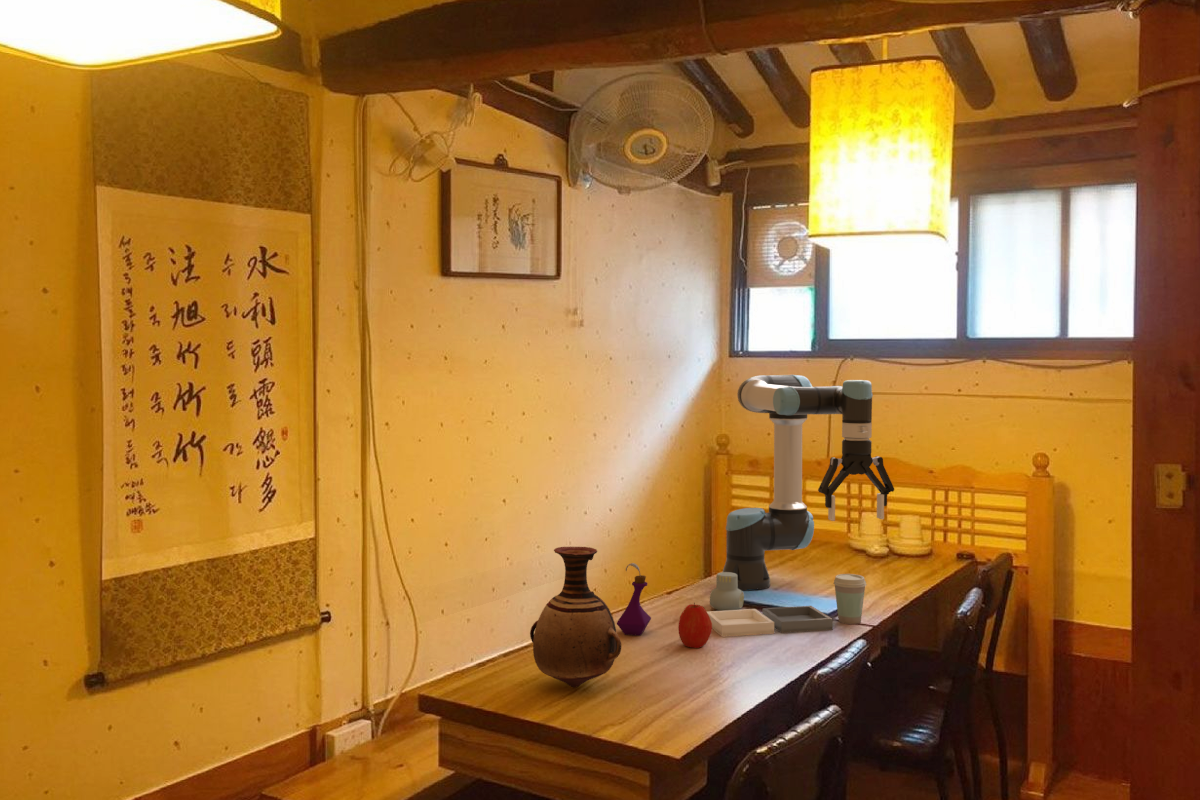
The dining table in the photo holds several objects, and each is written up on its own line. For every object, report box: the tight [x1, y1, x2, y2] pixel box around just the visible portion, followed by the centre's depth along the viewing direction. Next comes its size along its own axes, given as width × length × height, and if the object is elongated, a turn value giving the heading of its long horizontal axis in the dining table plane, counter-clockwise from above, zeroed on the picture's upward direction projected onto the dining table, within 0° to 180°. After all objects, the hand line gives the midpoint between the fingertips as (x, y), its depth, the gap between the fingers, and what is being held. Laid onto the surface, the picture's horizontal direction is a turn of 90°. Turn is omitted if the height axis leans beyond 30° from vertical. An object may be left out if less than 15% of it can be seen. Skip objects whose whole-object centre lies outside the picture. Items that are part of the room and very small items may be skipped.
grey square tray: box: [761, 605, 834, 634], centre depth 272 cm, size 14×14×3 cm
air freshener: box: [709, 571, 745, 611], centre depth 288 cm, size 11×8×10 cm
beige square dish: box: [706, 608, 775, 638], centre depth 269 cm, size 14×14×3 cm
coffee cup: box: [833, 573, 867, 625], centre depth 275 cm, size 8×9×12 cm
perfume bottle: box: [616, 562, 652, 637], centre depth 264 cm, size 8×8×18 cm
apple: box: [677, 602, 713, 649], centre depth 252 cm, size 8×8×11 cm
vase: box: [529, 546, 622, 688], centre depth 222 cm, size 21×18×30 cm
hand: (856, 519), depth 270 cm, fingers open, 13 cm apart
